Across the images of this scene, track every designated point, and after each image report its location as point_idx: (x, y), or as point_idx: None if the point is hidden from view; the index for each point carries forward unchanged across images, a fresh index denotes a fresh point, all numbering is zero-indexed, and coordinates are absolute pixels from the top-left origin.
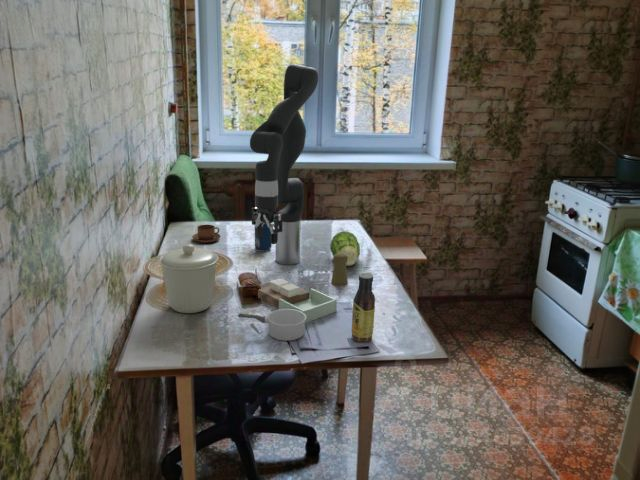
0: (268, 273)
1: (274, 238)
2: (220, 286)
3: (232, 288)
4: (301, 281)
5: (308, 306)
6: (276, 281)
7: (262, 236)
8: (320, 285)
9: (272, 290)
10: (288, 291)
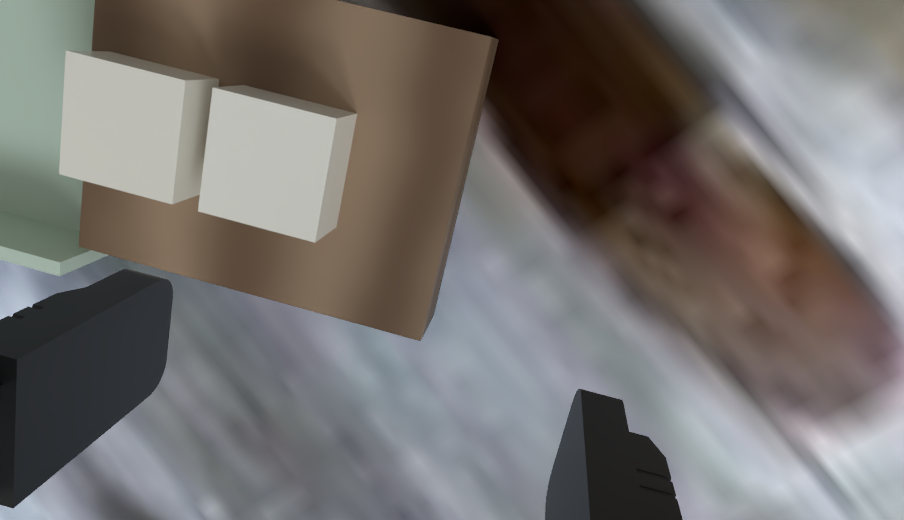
0: (694, 484)
1: (5, 322)
2: (893, 5)
3: (757, 42)
4: (384, 481)
5: (26, 115)
6: (290, 156)
7: (548, 499)
8: (239, 488)
9: (307, 87)
10: (79, 52)
